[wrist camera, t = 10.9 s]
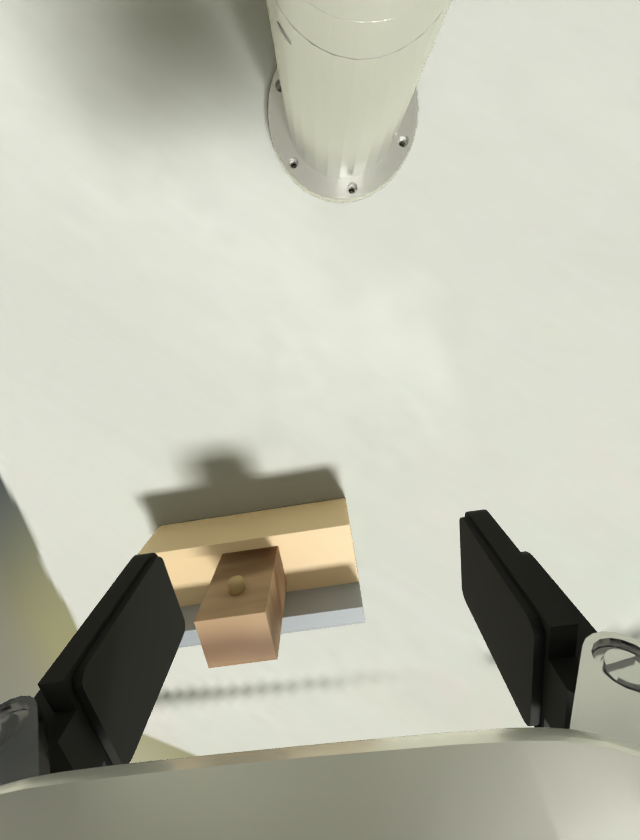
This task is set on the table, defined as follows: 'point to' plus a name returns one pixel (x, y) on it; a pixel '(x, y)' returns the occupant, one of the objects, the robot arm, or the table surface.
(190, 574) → the cleat board
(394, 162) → the robot arm
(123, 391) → the table surface
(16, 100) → the table surface
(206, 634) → the cabinet block
